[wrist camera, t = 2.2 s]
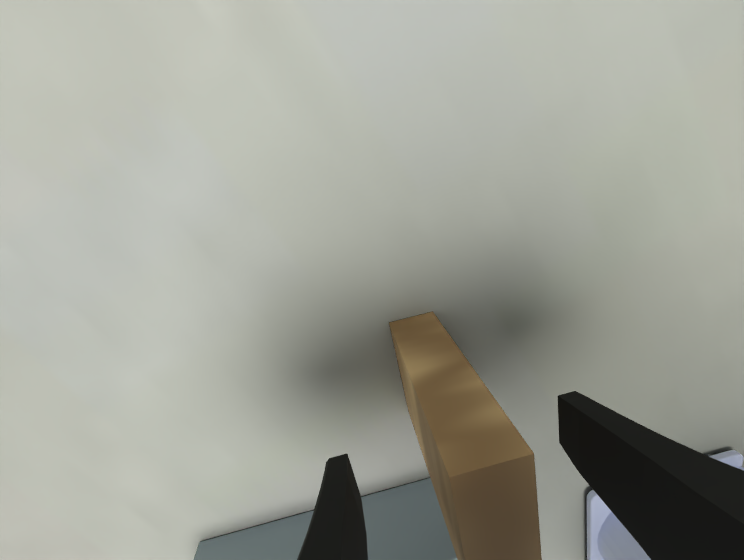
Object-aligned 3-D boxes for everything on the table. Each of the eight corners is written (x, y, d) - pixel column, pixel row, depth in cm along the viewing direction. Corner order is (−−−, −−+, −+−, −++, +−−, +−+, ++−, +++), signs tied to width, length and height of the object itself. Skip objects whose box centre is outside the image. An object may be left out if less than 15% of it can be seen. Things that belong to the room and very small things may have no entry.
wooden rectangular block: (432, 311, 15) (534, 453, 8) (448, 401, 17) (543, 589, 10) (388, 322, 15) (449, 477, 8) (408, 412, 17) (474, 610, 10)
